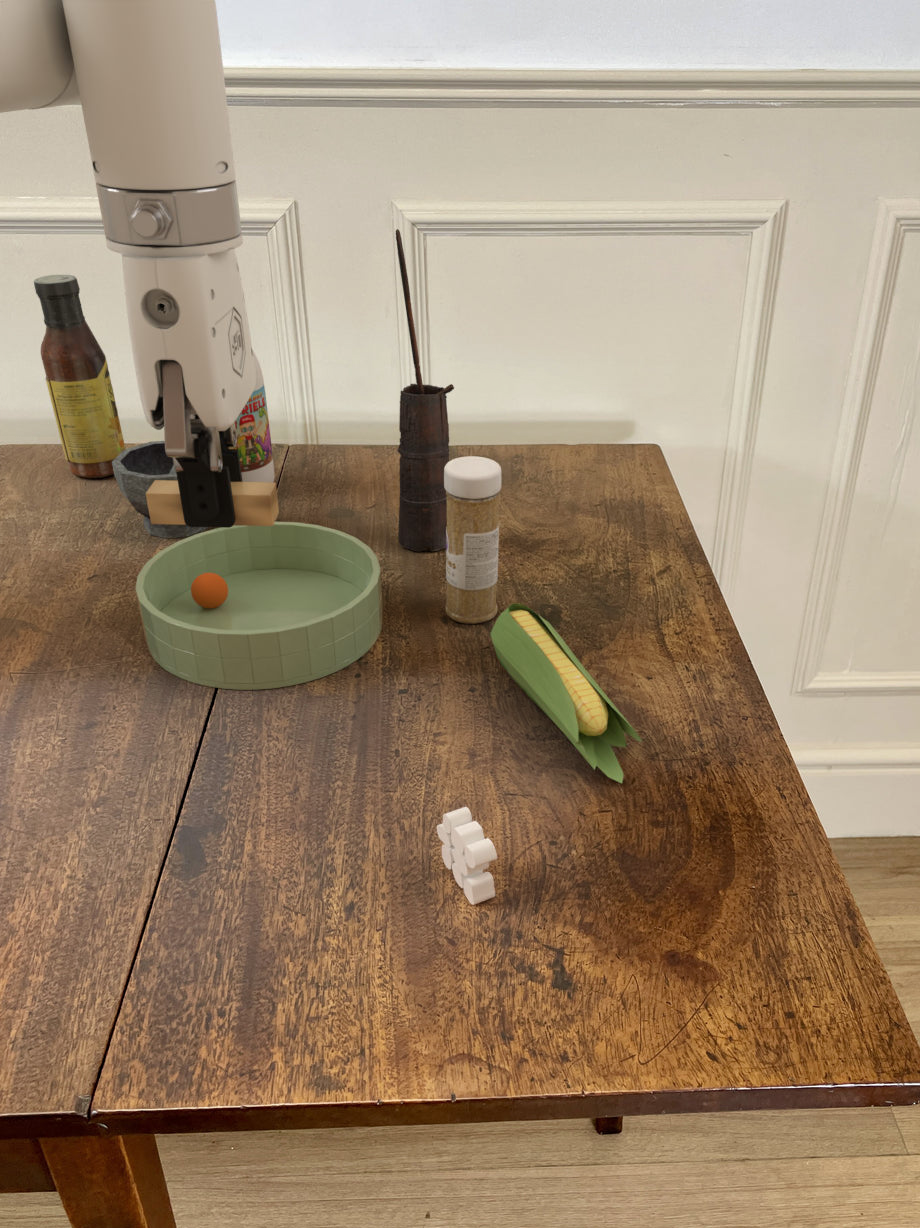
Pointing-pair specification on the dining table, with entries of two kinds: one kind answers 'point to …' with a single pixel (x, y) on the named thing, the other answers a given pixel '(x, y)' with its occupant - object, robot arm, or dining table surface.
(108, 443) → the sauce bottle
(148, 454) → the mortar and pestle
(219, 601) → the ball
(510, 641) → the edible corn
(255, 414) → the milk bottle
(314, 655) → the bowl
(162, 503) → the wooden block
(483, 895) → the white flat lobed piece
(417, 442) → the butter churn
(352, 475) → the dining table surface
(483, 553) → the spice jar
